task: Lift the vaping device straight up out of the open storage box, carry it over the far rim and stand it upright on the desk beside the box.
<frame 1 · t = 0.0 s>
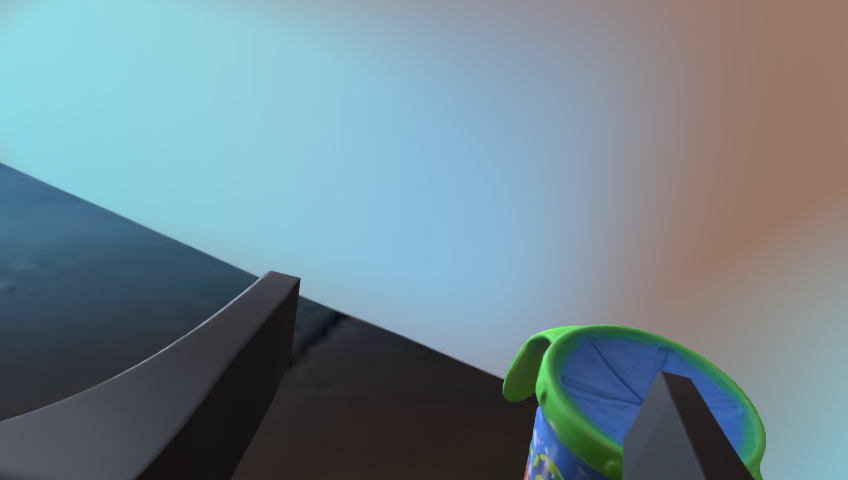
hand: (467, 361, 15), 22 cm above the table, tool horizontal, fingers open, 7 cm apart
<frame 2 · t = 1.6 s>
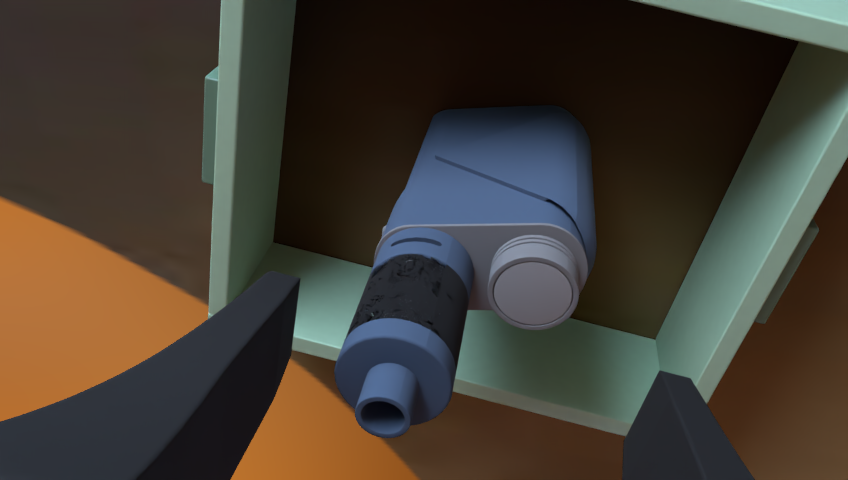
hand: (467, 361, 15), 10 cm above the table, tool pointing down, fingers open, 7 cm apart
vaping device: (504, 138, 24), resting in storage box
storage box: (504, 141, 23), on the table
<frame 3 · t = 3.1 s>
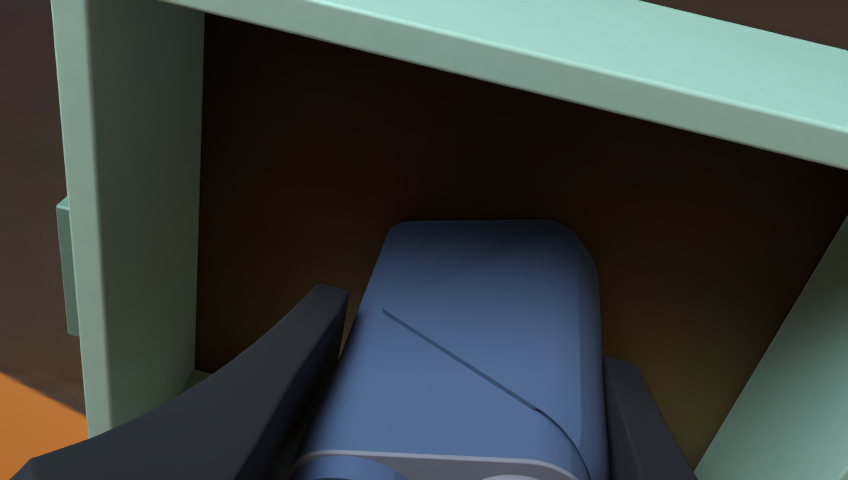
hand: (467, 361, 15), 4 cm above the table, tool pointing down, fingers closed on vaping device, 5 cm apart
vaping device: (484, 256, 18), resting in storage box, touching gripper
storage box: (484, 260, 18), on the table
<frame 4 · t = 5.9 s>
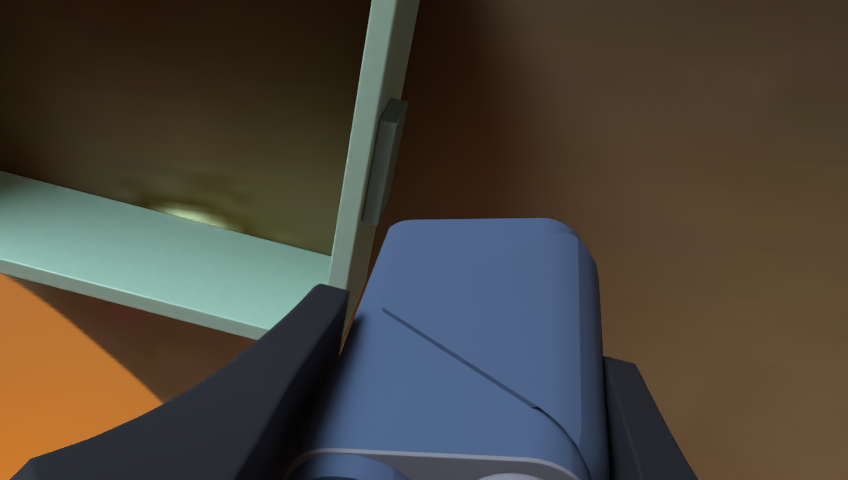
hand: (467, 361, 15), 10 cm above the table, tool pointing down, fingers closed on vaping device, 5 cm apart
vaping device: (484, 254, 18), point 7 cm above the table, touching gripper
storage box: (165, 55, 24), on the table
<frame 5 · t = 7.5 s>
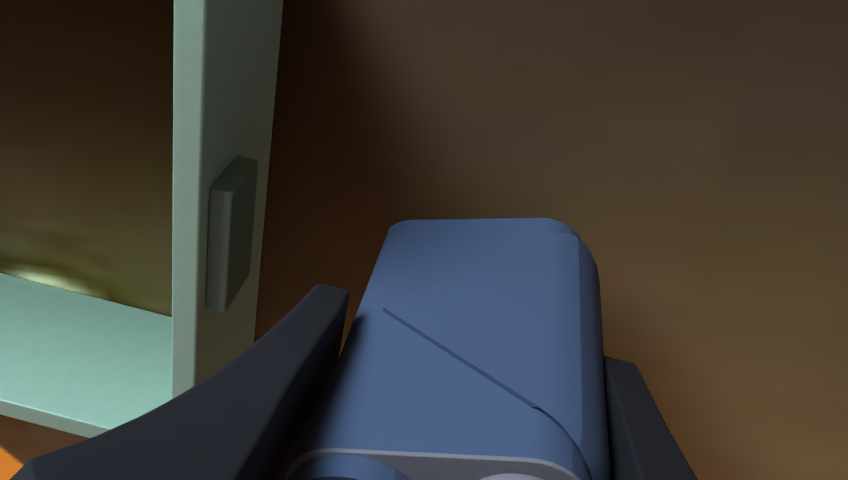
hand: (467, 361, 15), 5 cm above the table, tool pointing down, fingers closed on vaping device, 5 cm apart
vaping device: (484, 254, 18), point 2 cm above the table, touching gripper
when the fingers open (4 cm above the table, at t = 8.6 s): vaping device stays where it is, on the table.
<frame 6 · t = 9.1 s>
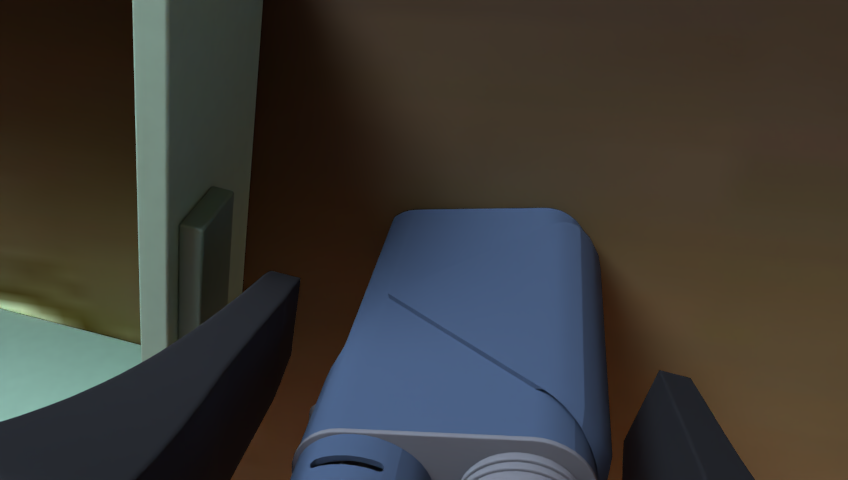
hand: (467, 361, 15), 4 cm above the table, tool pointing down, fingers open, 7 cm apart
vaping device: (487, 244, 18), on the table
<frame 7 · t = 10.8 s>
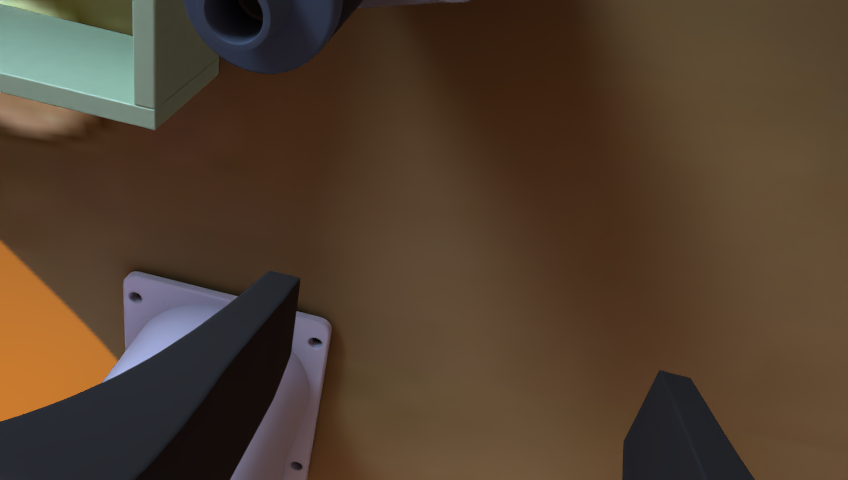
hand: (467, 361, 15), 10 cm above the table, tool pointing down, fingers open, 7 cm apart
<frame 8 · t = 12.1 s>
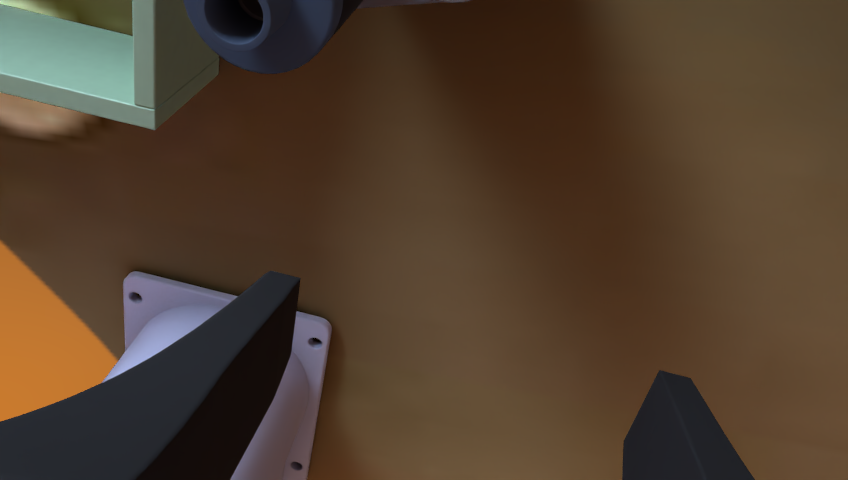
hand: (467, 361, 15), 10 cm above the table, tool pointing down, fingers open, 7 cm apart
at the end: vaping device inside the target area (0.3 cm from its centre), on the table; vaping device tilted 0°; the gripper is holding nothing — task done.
